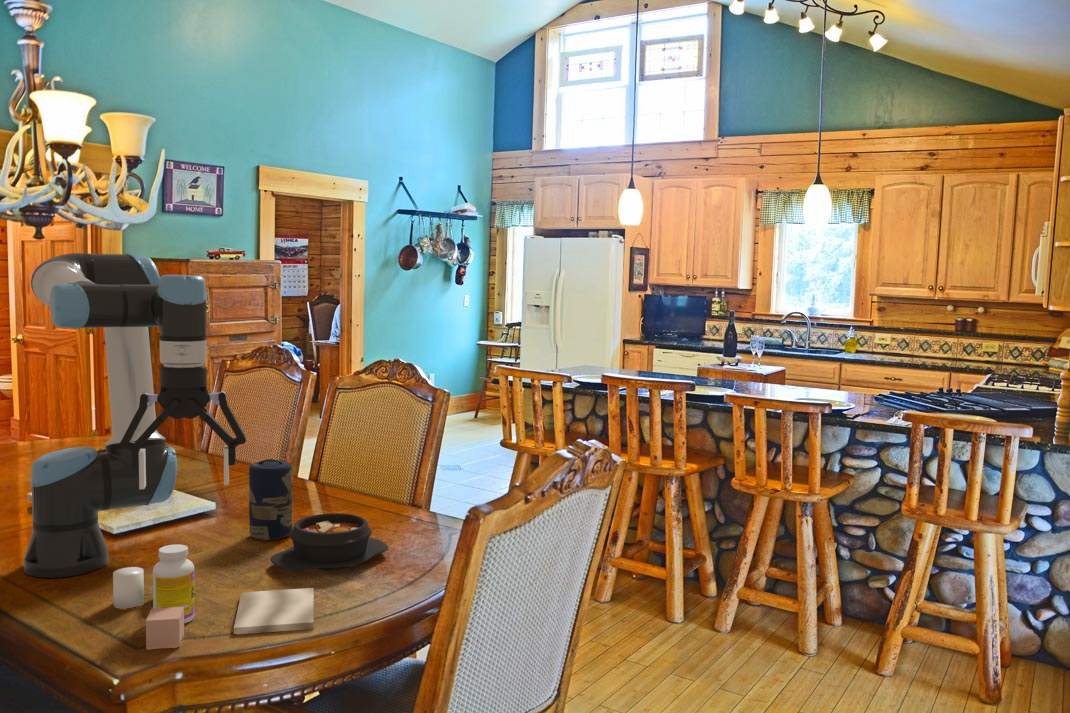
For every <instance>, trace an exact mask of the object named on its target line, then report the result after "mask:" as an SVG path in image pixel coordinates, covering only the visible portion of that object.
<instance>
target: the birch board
mask: <svg viewBox="0 0 1070 713" xmlns="http://www.w3.org/2000/svg"><path fill="white" fill-rule="evenodd" d="M314 590H315V589H314V587H306V588H291V589H290V588H288V589H278V590H277V589H275V590H260V591H243V592H241V594H240V598H239V602H238V605H237V606H238V607H237V612H236V616H235V620H234V625H233V635H234V634H236V635H246V634H247V635H249V633H250V634H260V632H261V634H262V632H263V633H273V632H288V631H289V632H291V631H301V630H303V631H305V630H314V626H315V625H314V616H315V615H314V614H315V612H314V607H315V606H314V605H315V604H314V603H315V602H314V599H315V598H314V595H315V592H314ZM290 630H291V631H290Z"/></svg>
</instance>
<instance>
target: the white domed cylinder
mask: <svg viewBox="0 0 1070 713" xmlns="http://www.w3.org/2000/svg"><path fill="white" fill-rule="evenodd" d="M144 572H145V571H144V568H143V567H139V566H128V567H122V568H118V569H117V570H114V571H113V572H112V584H113V586H112V589H113V590H112V592H113V608H115V607H116V608H115V609H117V608H123V609H122V610H125V609H124V608H132V607H136V606H139V605H141V604H142V605H144V604H145V585H144V583H145V581H144V580H145V579H144V576H145V575H144ZM142 605H141V606H142ZM139 607H140V606H139ZM136 608H137V607H136ZM132 609H133V608H132Z"/></svg>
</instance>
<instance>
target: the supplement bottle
mask: <svg viewBox="0 0 1070 713" xmlns="http://www.w3.org/2000/svg"><path fill="white" fill-rule="evenodd" d="M188 555H189V547H188V546H187V545H184V544H169V545H164V546H162V547H160V548H158V559H159V562H157V563H155V565H154V566H153V568H152V609H153V608H169V607H184V623H185V624H188V623H189V622H191V621H192V620H193V619H194V618H195V614H196V612H195V611H196V610H195V609H196V608H195V606H196V603H195V599H196V598H195V599H194V567H195V565H194V563H193V562H192V561H191V560H190V559H188V558H187V557H188ZM187 622H188V623H187Z"/></svg>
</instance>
